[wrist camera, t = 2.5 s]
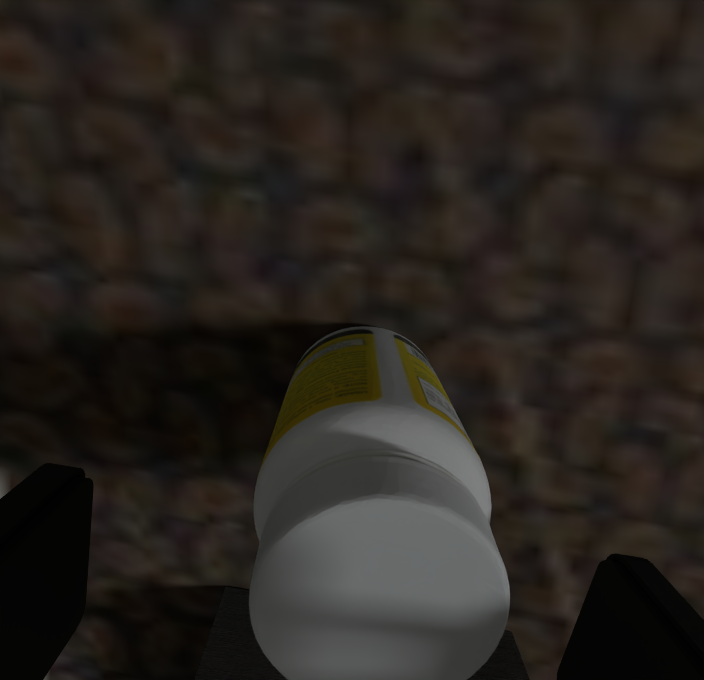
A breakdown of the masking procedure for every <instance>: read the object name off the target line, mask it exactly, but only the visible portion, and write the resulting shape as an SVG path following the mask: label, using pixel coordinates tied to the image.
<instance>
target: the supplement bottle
mask: <svg viewBox="0 0 704 680" xmlns="http://www.w3.org/2000/svg"><path fill="white" fill-rule="evenodd" d="M253 508H254V521H255V528H256V532H257V536H258V539H259V541H260V544H259V549H258V552H257V557H256V562H255V566H254V570H253V575H252V579H251V585H250V592H249V612H250V619H251V625H252V628H253V631H254V634H255V638H256V640H257V642H258V643H259V645H260V647H261V649H262V651H263V653H264V654H265V656H266V657H267V658H268V659H269V661H270V662H271V663H272V665H273V666H274V667H275V668H276V669H277V670H278V671H279V672H280V673H281V674H282V675H283V676H284V677H285V678H286V679H288V680H467V679H468V678H470V677H471V676H472V675H473V674H474V673H475V672H476V671H478V670H479V669H480V668H481V667H482V666H483V665H484V664H485V663H486V662H487V660H488V659H489V657H490V656H491V655H492V653H493V652H494V651H495V649H496V648H497V646H498V644H499V641H500V639H501V638H502V636H503V633H504V630H505V627H506V624H507V619H508V615H509V605H510V590H509V582H508V578H507V573H506V569H505V566H504V563H503V561H502V558H501V556H500V553H499V551H498V548H497V546H496V543H495V540H494V538H493V535H492V531H491V528H490V525H489V524H490V518H491V496H490V489H489V484H488V480H487V477H486V473H485V470H484V467H483V465H482V462H481V460H480V457H479V455H478V454H477V452H476V450H475V449H474V447H473V445H472V443H471V441H470V439H469V437H468V435H467V433H466V431H465V429H464V428H463V426H462V424H461V422H460V420H459V418H458V416H457V414H456V412H455V410H454V408H453V406H452V404H451V402H450V400H449V398H448V396H447V394H446V393H445V391H444V389H443V387H442V385H441V383H440V381H439V379H438V377H437V375H436V373H435V371H434V369H433V367H432V366H431V364H430V362H429V361H428V359H427V358H426V356H425V355H424V354H423V352H422V351H421V350H420V349H419V348H418V347H417V346H416V345H415V344H414V343H412V342H411V341H410V340H408V339H407V338H405V337H403V336H401V335H400V334H397V333H395V332H393V331H390V330H387V329H383V328H378V327H365V326H361V327H350V328H345V329H341V330H338V331H335V332H333V333H330V334H328V335H327V336H325V337H323V338H322V339H320V340H318V341H317V342H316V343H315V344H314V345H312V346H311V347H310V348H309V349H308V350H307V351H306V353H305V354H304V355H303V357H302V358H301V359H300V361H299V363H298V364H297V366H296V368H295V370H294V372H293V375H292V377H291V380H290V383H289V386H288V389H287V392H286V395H285V398H284V401H283V404H282V407H281V410H280V413H279V416H278V418H277V421H276V424H275V427H274V430H273V433H272V436H271V439H270V442H269V445H268V448H267V450H266V453H265V456H264V459H263V462H262V465H261V468H260V471H259V474H258V478H257V482H256V488H255V495H254V507H253Z"/></svg>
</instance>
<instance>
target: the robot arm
mask: <svg viewBox="0 0 704 680" xmlns="http://www.w3.org/2000/svg"><path fill="white" fill-rule="evenodd" d="M92 501H93V481H92V480H91V479H89V478H85V473H84V470H83V469H81V468H76V467H70V466H64V465H57V464H51V463H47V464H44V465H42V466H41V467H39V468H38V469H37V470H36V471H34V472H33V473H32V474H31V475H29V476H28V477H27V478H26V479H24V480H23V481H22V482H21V483H19V484H18V485H17V486H16V487H15V488H13V489H12V490H11V491H10V492H8V493H7V494H6V495H5V496H3V497H2V498H1V499H0V680H43V679H44V678H45V676H46V674H47V673H48V671H49V670H50V668H51V667H52V665H53V664H54V662H55V661H56V659H57V658H58V656H59V655H60V653H61V652H62V650H63V649H64V647H65V646H66V644H67V642H68V641H69V639H70V638H71V636H72V635H73V633H74V632H75V630H76V629H77V627H78V625H79V623H80V621H81V619H82V616H83V613H84V609H85V604H86V592H87V577H88V562H89V546H90V531H91V516H92ZM557 680H704V620H703V619H702V618H701V617H700V616H699V614H698V613H697V612H696V611H695V610H694V609H693V608H692V607H691V606H690V605H689V603H688V602H687V601H686V600H685V599H684V598H683V597H682V596H681V595H680V594H679V592H678V591H677V590H676V589H675V588H674V587H673V586H672V585H671V584H670V583H669V582H668V580H667V579H666V578H665V577H664V576H663V575H662V574H661V573H660V572H659V571H658V569H657V568H656V567H655V566H654V565H653V564H652V563H651V562H650V561H648V560H647V559H644V558H640V557H634V556H627V555H621V554H611V555H610V556H609V557H607V559H606V560H604V561H602V562H600V563H599V565H598V567H597V570H596V572H595V575H594V577H593V580H592V583H591V585H590V588H589V590H588V593H587V596H586V598H585V601H584V603H583V606H582V609H581V611H580V614H579V616H578V619H577V622H576V624H575V627H574V629H573V632H572V635H571V637H570V640H569V642H568V645H567V648H566V650H565V653H564V656H563V658H562V661H561V663H560V666H559V669H558V672H557Z"/></svg>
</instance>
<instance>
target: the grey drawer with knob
mask: <svg viewBox="0 0 704 680" xmlns="http://www.w3.org/2000/svg"><path fill="white" fill-rule="evenodd" d="M249 592H250V590H245V589H238V588H232V587H225V590H224V593H223V596H222V599H221V602H220V605H219V608H218V611H217V614H216V617H215V620H214V623H213V626H212V629H211V632H210V635H209V638H208V641H207V644H206V647H205V650H204V653H203V655H202V658H201V661H200V664H199V667H198V670H197V673H196V676H195V679H194V680H288V679H286V678H285V677H284V676H283V675H282V674H281V673H280V672H279V671H278V670H277V669H276V668H275V667H274V666H273V665H272V663H271V662H270V661H269V659H268V658H267V657H266V656H265V654H264V653H263V651H262V649H261V647H260V645H259V643H258V642H257V640H256V638H255V634H254V631H253V628H252V625H251V619H250V612H249ZM467 680H530V679H529V676H528V674H527V671H526V668H525V666H524V663H523V660H522V658H521V655H520V652H519V650H518V647H517V644H516V642H515V639H514V636H513V634H512V632H508V631H504V633H503V636H502V638H501V639H500V641H499V644H498V646H497V648H496V649H495V651H494V652H493V653H492V655H491V656H490V657H489V659H488V660H487V662H486V663H485V664H484V665H483V666H482V667H481V668H480V669H479V670H478V671H476V672H475V673H474V674H473V675H472V676H471V677H470V678H468V679H467Z"/></svg>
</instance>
